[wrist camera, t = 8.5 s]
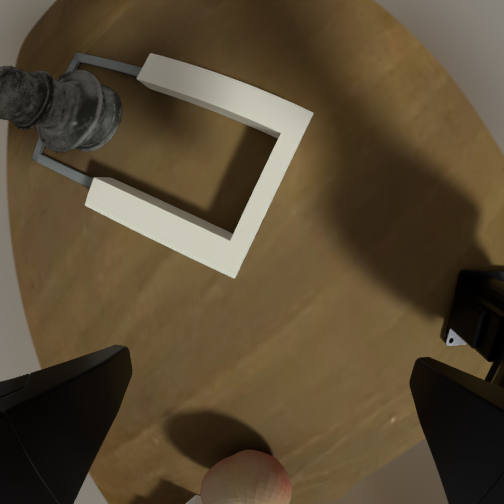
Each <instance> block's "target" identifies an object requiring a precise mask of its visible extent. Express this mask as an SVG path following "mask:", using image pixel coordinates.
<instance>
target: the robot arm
mask: <svg viewBox="0 0 504 504" xmlns="http://www.w3.org/2000/svg"><path fill="white" fill-rule="evenodd" d="M465 274H466V276H465V278H464V275H465ZM450 339H451V340H450ZM449 340H450V341H449ZM444 342H445V343H446V344H447V345H448V346H455V345H465V344H468V345H469V346H470V347H471V348H474V349H475V350H476V351H477V352H478V353H479V354H481V355H482V356H483V357H484V358H485V359H486V360H487V361H488V362H492V363H493V364H492V366H491V368H490V370H489V372H488V374H487V376H486V378H485V380H483V379H480V378H478V377H475V376H473V375H470V374H468V373H466V372H463V371H461V370H459V369H456V368H454V367H451V366H449V365H447V364H444V363H442V362H440V361H437V360H435V359H432V358H430V357H421V358H418V359H417V360H416V361H415V364H414V368H413V371H412V374H411V378H410V389H411V392H412V396H413V399H414V403H415V407H416V410H417V414H418V418H419V421H420V424H421V427H422V429H423V432H424V435H425V437H426V440H427V442H428V445H429V448H430V450H431V453H432V456H433V459H434V461H435V464H436V467H437V470H438V473H439V475H440V479H441V482H442V484H443V487H444V491H445V494H446V497H447V500H448V503H449V504H504V270H469V269H464V270H462V271H461V272H460V273H459V277H458V283H457V288H456V293H455V297H454V301H453V306H452V310H451V314H450V319H449V323H448V328H447V332H446V335H445V339H444ZM131 376H132V364H131V358H130V352H129V349H128V348H127V347H126V346H121V345H114V346H111V347H108V348H105V349H102V350H99V351H96V352H93V353H90V354H88V355H85V356H82V357H79V358H76V359H73V360H70V361H67V362H64V363H61V364H58V365H54V366H51V367H48V368H45V369H42V370H39V371H36V372H33V373H31V374H26V375H23V376H20V377H17V378H13V379H9V380H5V381H1V382H0V504H74V501H75V499H76V497H77V495H78V493H79V491H80V488H81V486H82V484H83V482H84V480H85V478H86V475H87V474H88V472H89V470H90V467H91V465H92V463H93V461H94V459H95V457H96V455H97V453H98V451H99V449H100V447H101V445H102V443H103V441H104V439H105V437H106V435H107V433H108V431H109V429H110V427H111V425H112V423H113V421H114V419H115V417H116V415H117V413H118V411H119V408H120V406H121V403H122V400H123V398H124V395H125V392H126V389H127V387H128V384H129V381H130V379H131Z"/></svg>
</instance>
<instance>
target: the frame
mask: <svg viewBox="0 0 504 504" xmlns="http://www.w3.org/2000/svg"><path fill="white" fill-rule="evenodd" d="M80 62H81V63H85V64H90V65H94V66H98V67H102V68H106V69H110V70H114V71H118V72H122V73H125V74H129V75H132V76H136V77H138V75H139V73H140V71H141V69H142V68H141V67H137V66H134V65H130V64H126V63H122V62H118V61H114V60H110V59H105V58H101V57H96V56H91V55H87V54H82V53H76V54H75V56H74V57H73V59H72V61H71V63H70V65H69V67H68V69H67V71H66V73H67V72H69V71H73V70H77V68H78V66H79V64H80ZM44 147H45V146H44V145H43V143H42V142H41V140H40V139H38V142H37V144H36V147H35V151H34V154H33V157H32V160H34V161H36V162H38V163H40V164H42V165H44V166H46V167H48V168H50V169H52V170H54V171H56V172H58V173H60V174H62V175H64V176H66V177H68V178H70V179H72V180H74V181H77V182H79V183H81V184H83V185H85V186H87V187H89V188H90V187H91V184H92V181H93V179H94V178H92V177H90V176H88V175H86V174H84V173H81V172H79V171H77V170H75V169H73V168H71V167H69V166H66V165H64V164H62V163H60V162H58V161H56V160H54V159H51V158H49V157H47V156H45V155H43V154H42V153H43V150H44Z"/></svg>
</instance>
